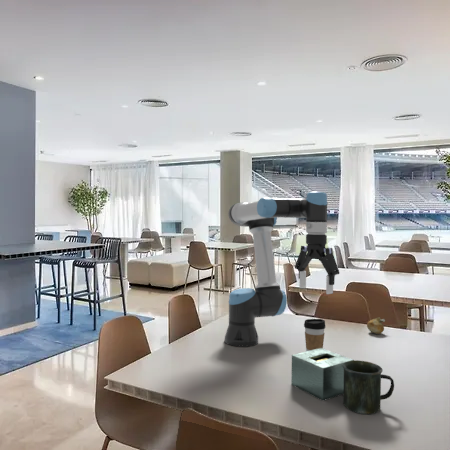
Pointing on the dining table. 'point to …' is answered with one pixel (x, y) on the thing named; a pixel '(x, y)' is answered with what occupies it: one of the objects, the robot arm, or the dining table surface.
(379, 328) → the onion
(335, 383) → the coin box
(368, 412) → the mug
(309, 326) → the coffee cup
